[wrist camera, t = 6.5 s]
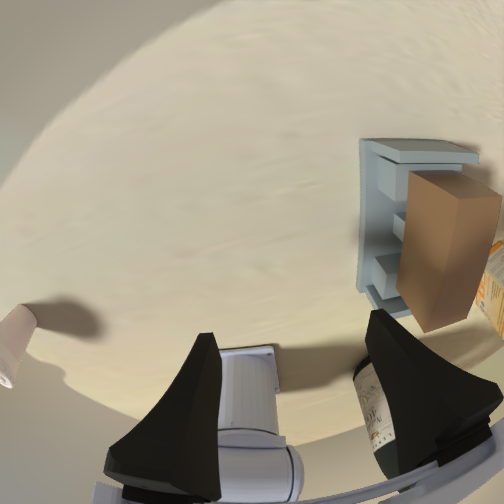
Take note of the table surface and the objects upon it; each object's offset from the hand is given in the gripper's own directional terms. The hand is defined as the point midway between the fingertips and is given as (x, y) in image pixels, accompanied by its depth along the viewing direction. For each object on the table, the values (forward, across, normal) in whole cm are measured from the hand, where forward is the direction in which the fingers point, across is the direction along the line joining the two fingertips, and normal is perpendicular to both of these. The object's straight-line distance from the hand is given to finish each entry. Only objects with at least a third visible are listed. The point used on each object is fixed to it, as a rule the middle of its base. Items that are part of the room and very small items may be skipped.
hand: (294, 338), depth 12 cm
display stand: (+10, -11, -1) cm, 15 cm away
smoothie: (+10, +31, +6) cm, 33 cm away
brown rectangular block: (+6, -11, -1) cm, 12 cm away
